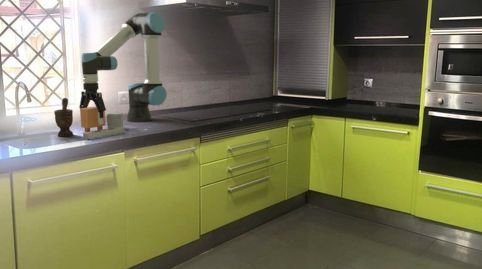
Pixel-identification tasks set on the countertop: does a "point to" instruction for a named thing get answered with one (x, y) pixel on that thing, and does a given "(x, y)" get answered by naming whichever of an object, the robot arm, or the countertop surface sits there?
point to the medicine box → (114, 120)
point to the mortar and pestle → (64, 119)
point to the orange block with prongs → (91, 118)
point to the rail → (103, 132)
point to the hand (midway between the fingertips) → (93, 123)
